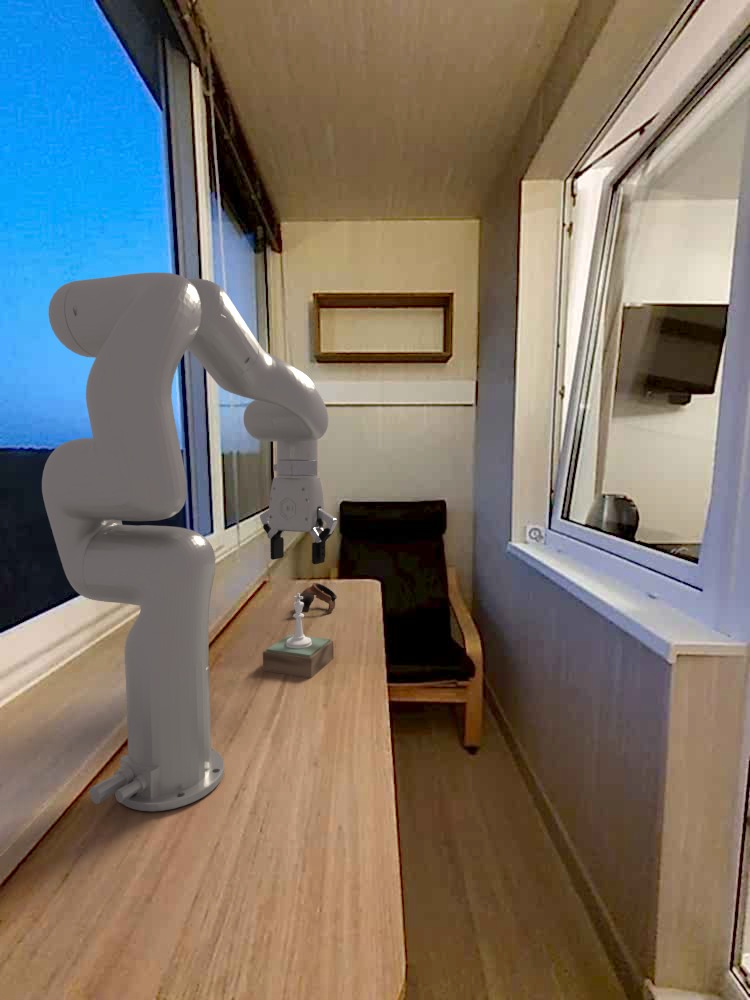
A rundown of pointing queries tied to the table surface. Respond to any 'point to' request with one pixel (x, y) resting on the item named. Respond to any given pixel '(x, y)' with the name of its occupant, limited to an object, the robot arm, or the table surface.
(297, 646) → the chess piece
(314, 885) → the table surface
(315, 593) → the brown curved open ring
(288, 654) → the pedestal
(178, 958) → the table surface
